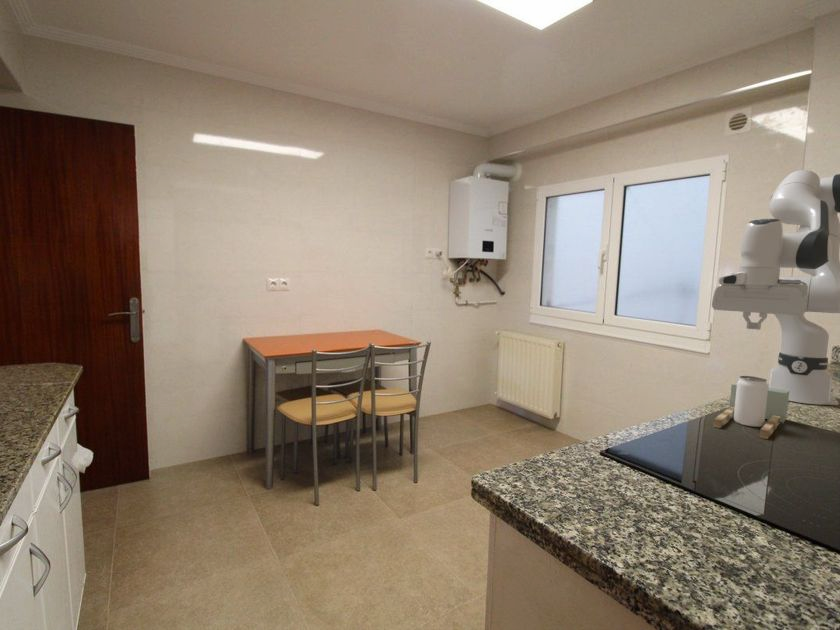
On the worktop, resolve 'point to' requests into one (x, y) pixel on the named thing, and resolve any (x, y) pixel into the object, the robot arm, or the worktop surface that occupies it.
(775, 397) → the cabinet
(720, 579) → the worktop surface
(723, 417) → the rails
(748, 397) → the can
